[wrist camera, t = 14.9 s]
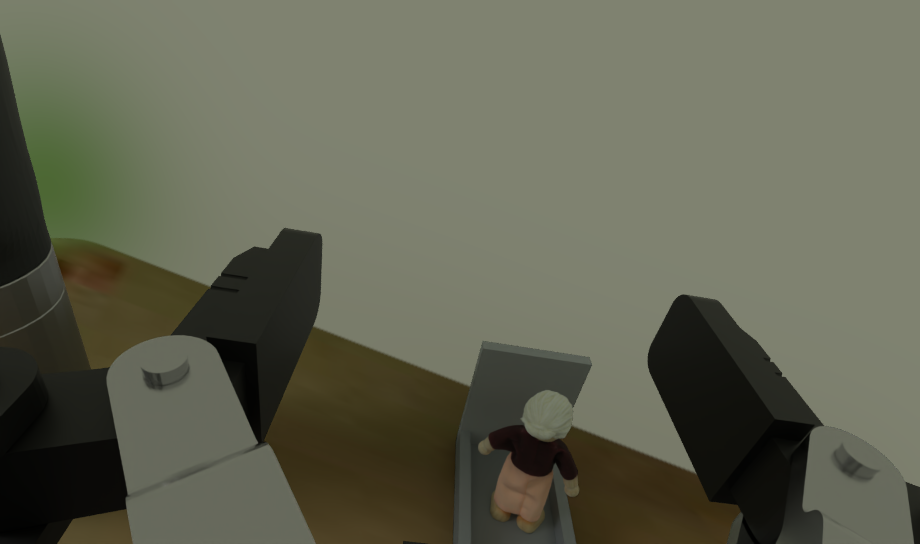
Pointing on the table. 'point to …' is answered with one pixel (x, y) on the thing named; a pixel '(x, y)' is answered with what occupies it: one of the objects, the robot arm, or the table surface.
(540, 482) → the grandmother figurine
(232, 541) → the robot arm
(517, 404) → the case
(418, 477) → the table surface
